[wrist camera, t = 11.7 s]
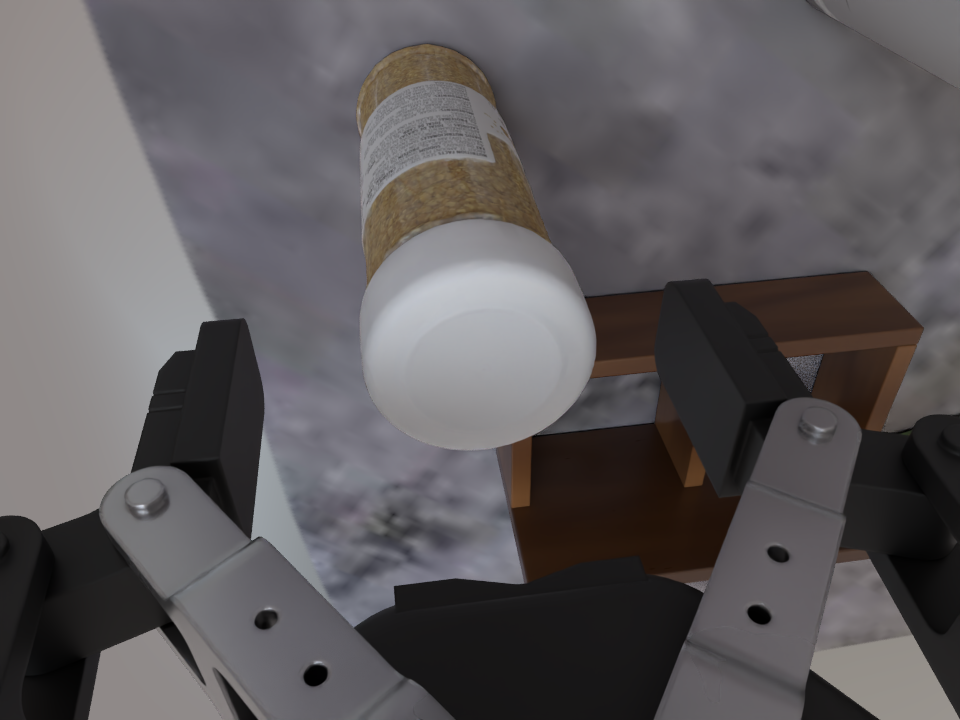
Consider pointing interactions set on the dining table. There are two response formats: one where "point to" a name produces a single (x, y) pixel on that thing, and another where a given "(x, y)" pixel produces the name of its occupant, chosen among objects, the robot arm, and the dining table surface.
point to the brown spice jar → (459, 264)
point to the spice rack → (666, 445)
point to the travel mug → (907, 29)
